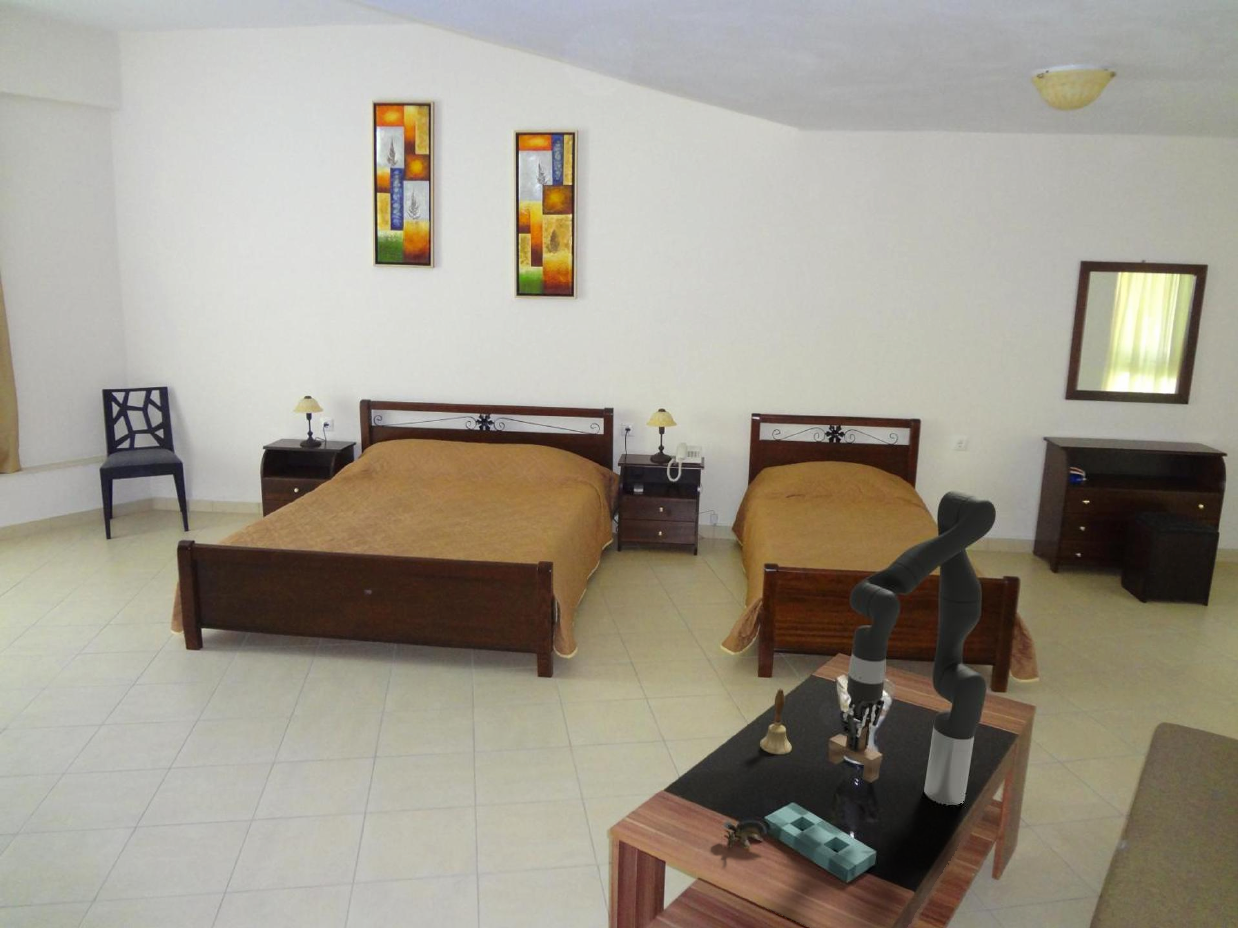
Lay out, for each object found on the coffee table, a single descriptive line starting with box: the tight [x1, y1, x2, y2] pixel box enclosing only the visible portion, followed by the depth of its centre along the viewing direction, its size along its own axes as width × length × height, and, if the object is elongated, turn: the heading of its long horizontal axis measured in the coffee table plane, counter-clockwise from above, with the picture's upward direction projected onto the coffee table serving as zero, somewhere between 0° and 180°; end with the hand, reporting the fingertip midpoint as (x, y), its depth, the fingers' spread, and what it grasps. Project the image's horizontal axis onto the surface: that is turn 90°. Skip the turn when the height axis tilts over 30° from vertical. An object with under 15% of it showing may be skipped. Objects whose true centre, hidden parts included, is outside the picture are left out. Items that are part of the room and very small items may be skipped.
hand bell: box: [759, 688, 793, 755], centre depth 230 cm, size 8×8×16 cm
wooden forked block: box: [828, 725, 883, 783], centre depth 194 cm, size 11×4×10 cm, turn 41°
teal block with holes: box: [763, 801, 877, 884], centre depth 190 cm, size 22×10×3 cm, turn 41°
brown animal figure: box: [722, 817, 772, 851], centre depth 190 cm, size 8×7×9 cm
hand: (858, 747), depth 194 cm, fingers closed on wooden forked block, 3 cm apart
